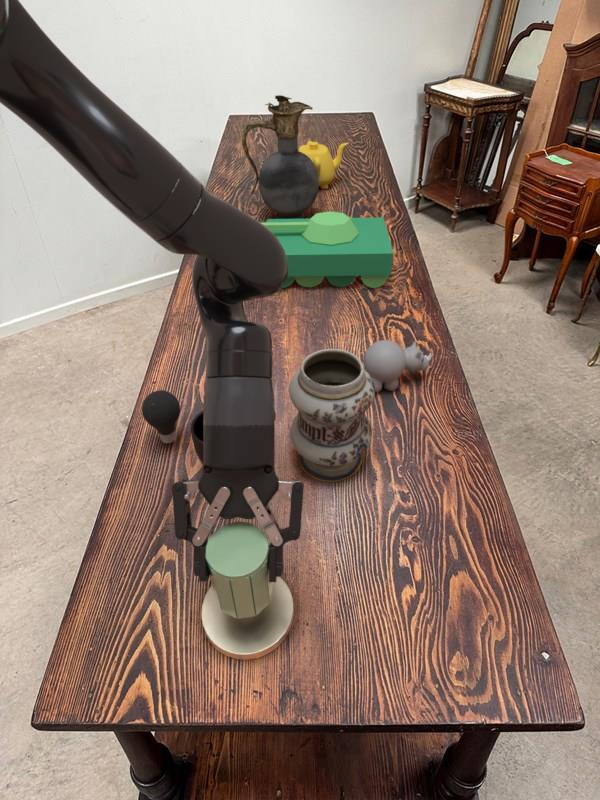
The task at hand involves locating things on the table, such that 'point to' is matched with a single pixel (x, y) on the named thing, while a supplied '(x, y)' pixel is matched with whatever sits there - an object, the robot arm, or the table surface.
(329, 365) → the apothecary jar
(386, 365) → the chubby cartoon animal
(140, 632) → the table surface
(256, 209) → the table surface
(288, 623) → the towel holder
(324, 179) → the teapot
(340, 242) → the toy tank
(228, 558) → the green grooved cylinder
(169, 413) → the light bulb
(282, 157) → the pitcher
